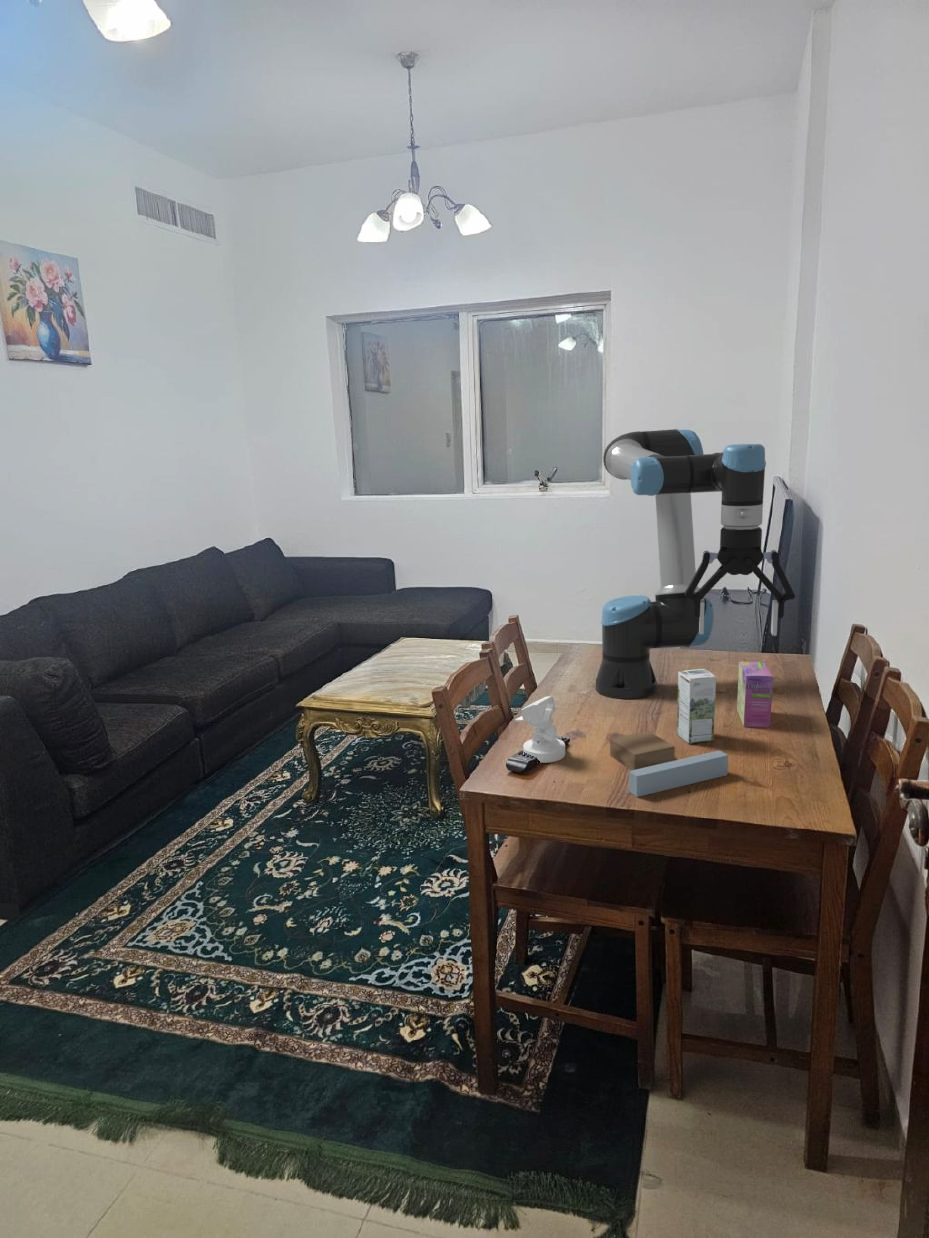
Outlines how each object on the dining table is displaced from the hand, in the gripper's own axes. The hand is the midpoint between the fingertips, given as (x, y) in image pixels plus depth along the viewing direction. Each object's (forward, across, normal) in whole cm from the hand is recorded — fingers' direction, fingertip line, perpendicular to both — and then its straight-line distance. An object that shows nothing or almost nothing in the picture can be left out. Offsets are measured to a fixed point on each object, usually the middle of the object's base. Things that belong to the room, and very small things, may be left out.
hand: (737, 633), depth 153 cm
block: (+24, -18, -11) cm, 32 cm away
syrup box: (+24, -7, +2) cm, 25 cm away
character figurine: (+24, -38, -10) cm, 46 cm away
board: (+23, -11, -20) cm, 33 cm away
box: (+24, +5, +15) cm, 29 cm away
